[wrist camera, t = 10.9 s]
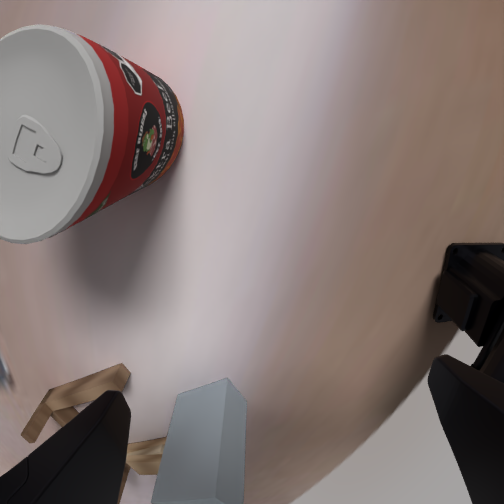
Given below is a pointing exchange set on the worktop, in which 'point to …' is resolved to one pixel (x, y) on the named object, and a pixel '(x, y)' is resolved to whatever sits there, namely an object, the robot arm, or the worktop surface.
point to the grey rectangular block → (204, 448)
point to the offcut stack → (145, 456)
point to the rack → (76, 403)
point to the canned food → (76, 130)
